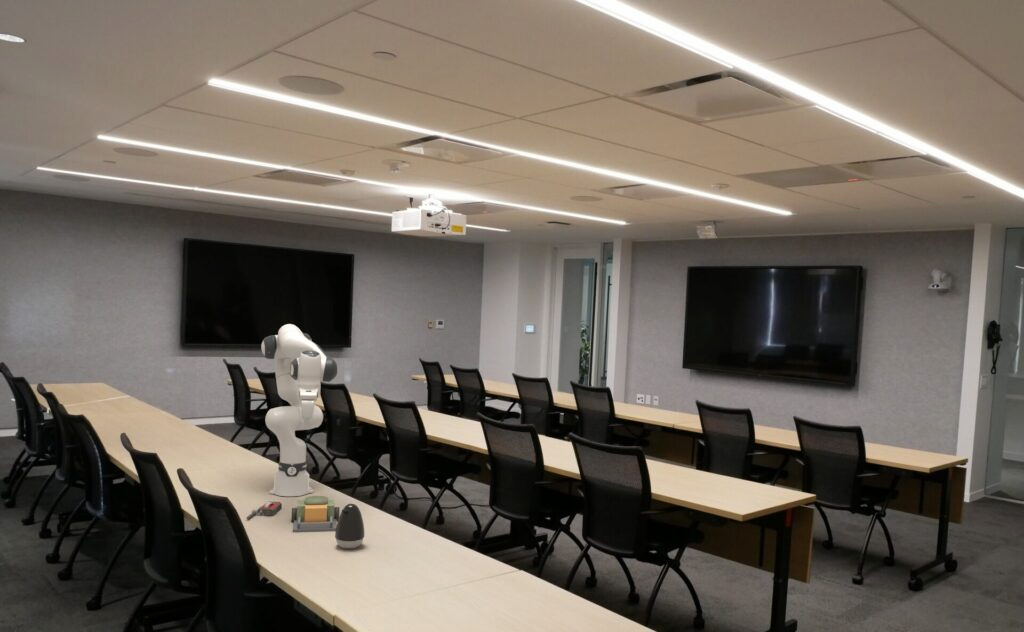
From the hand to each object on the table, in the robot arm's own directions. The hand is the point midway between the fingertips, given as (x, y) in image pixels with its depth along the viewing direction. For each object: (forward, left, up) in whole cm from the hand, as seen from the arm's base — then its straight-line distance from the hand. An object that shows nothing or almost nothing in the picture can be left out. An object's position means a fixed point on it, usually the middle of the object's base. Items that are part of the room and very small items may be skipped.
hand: (307, 426), depth 286 cm
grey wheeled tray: (+8, +5, -36) cm, 37 cm away
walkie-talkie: (-8, -15, -37) cm, 41 cm away
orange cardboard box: (+12, +5, -35) cm, 38 cm away
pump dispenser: (+36, +17, -37) cm, 54 cm away
